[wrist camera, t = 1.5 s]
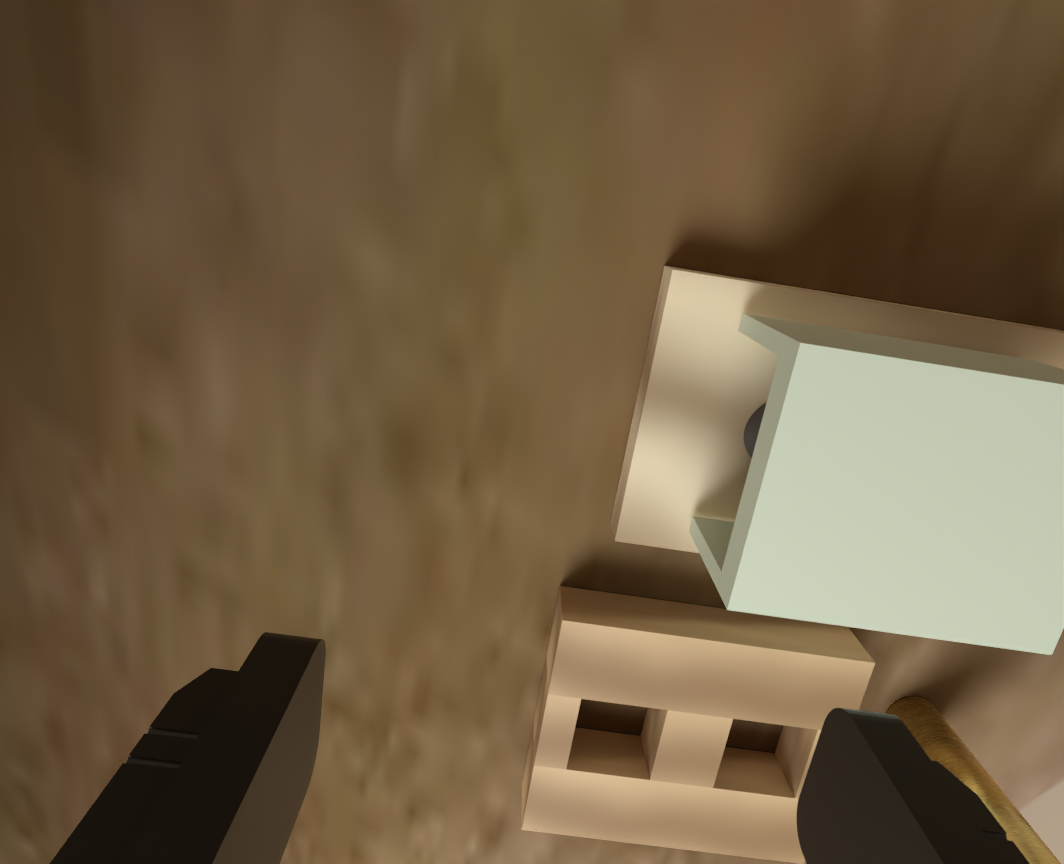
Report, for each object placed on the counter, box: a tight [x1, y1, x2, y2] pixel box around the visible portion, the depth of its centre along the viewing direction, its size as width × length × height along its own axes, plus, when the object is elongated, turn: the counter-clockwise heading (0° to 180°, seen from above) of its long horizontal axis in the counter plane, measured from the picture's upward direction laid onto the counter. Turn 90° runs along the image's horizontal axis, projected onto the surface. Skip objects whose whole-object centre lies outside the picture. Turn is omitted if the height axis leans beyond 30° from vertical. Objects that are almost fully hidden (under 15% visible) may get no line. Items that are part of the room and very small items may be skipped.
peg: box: [886, 696, 1060, 864], centre depth 27 cm, size 2×2×9 cm
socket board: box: [521, 586, 875, 864], centre depth 29 cm, size 10×12×2 cm
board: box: [611, 266, 1064, 553], centre depth 25 cm, size 10×15×4 cm, turn 81°
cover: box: [689, 313, 1064, 655], centre depth 22 cm, size 8×10×5 cm
